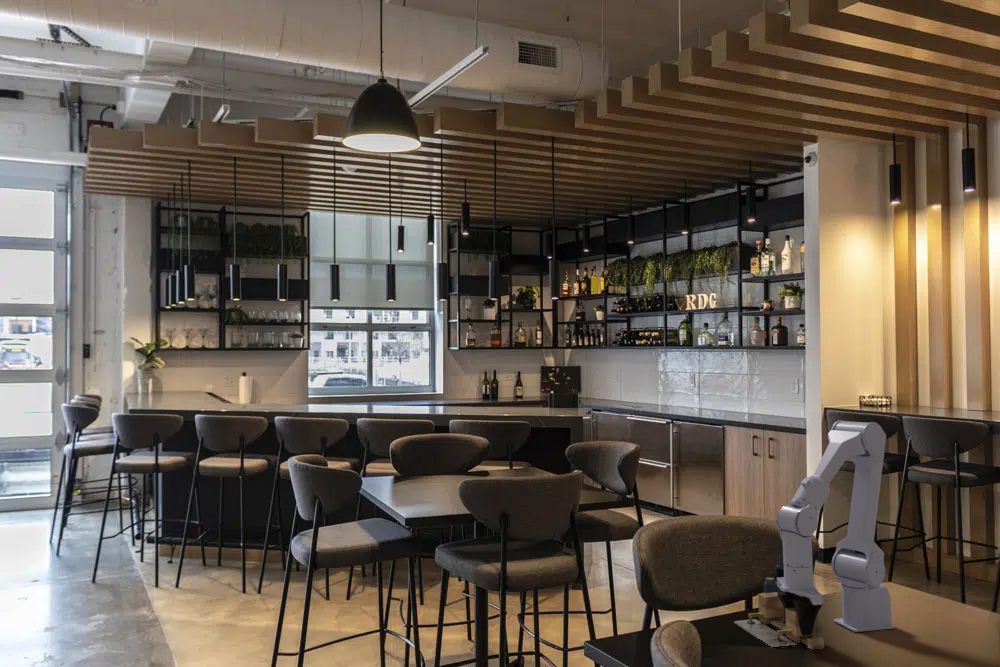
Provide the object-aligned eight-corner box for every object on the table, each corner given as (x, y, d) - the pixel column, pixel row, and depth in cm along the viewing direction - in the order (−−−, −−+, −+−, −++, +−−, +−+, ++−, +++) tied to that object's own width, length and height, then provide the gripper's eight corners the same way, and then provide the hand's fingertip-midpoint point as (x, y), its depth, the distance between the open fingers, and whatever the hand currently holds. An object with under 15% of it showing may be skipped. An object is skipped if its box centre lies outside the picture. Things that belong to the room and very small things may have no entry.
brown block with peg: (805, 635, 174) (804, 606, 174) (816, 641, 170) (814, 612, 170) (772, 638, 172) (771, 609, 172) (782, 644, 168) (781, 615, 168)
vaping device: (789, 616, 187) (787, 563, 187) (765, 615, 188) (763, 562, 188) (788, 613, 189) (786, 560, 190) (764, 612, 190) (762, 559, 191)
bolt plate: (755, 621, 184) (755, 618, 184) (796, 646, 168) (796, 643, 168) (734, 622, 183) (733, 620, 183) (772, 648, 167) (772, 645, 167)
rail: (769, 616, 187) (768, 607, 187) (824, 649, 166) (823, 638, 166) (756, 617, 187) (756, 608, 187) (810, 650, 165) (810, 640, 165)
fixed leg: (777, 619, 185) (776, 592, 185) (784, 623, 182) (783, 595, 182) (746, 621, 183) (744, 594, 184) (752, 626, 181) (751, 598, 181)
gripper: (762, 557, 178) (765, 621, 178) (799, 574, 164) (801, 643, 163) (793, 555, 179) (795, 619, 179) (831, 571, 165) (834, 640, 165)
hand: (800, 630), depth 171 cm, fingers closed on brown block with peg, 4 cm apart
